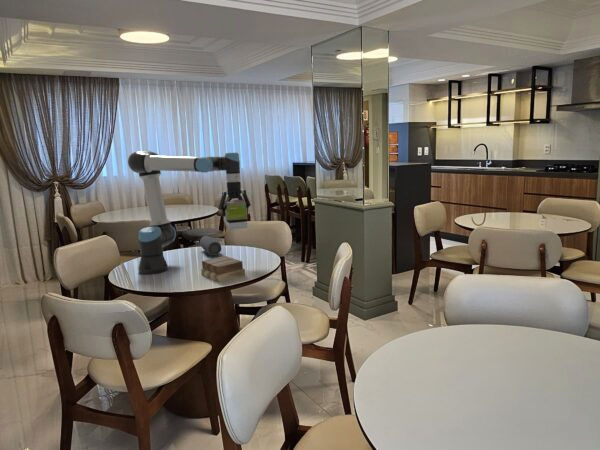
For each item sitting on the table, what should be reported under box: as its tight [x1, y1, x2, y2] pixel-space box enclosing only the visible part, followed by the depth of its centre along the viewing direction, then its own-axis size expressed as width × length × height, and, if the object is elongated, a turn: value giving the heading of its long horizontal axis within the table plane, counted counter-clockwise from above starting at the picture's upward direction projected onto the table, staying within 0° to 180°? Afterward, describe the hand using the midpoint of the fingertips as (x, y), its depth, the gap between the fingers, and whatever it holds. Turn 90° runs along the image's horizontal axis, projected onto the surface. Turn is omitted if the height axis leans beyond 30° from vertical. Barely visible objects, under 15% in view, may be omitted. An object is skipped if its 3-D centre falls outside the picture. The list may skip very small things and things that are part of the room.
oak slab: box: [201, 268, 246, 283], centre depth 222 cm, size 18×15×4 cm
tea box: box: [224, 198, 248, 230], centre depth 238 cm, size 15×10×15 cm, turn 19°
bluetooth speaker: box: [199, 235, 222, 256], centre depth 271 cm, size 23×9×10 cm, turn 25°
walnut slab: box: [201, 255, 244, 275], centre depth 222 cm, size 17×14×4 cm
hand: (235, 220), depth 238 cm, fingers closed on tea box, 12 cm apart
